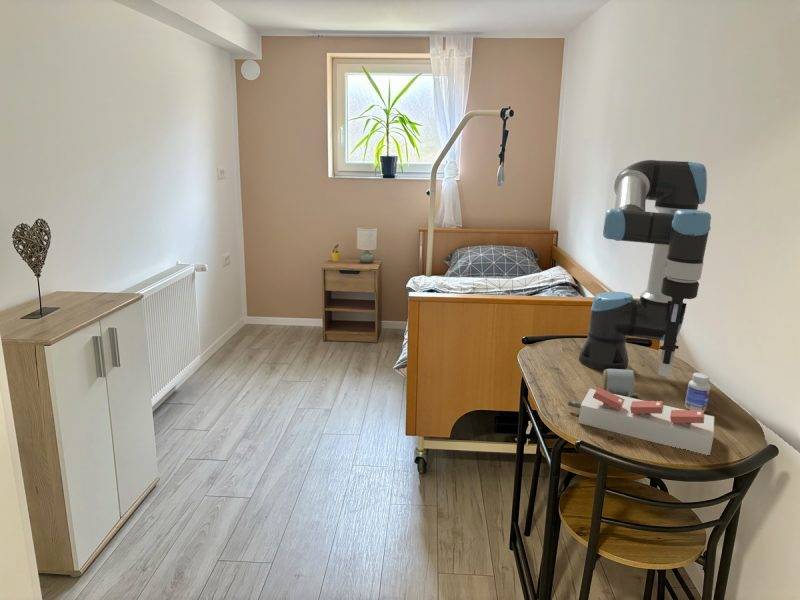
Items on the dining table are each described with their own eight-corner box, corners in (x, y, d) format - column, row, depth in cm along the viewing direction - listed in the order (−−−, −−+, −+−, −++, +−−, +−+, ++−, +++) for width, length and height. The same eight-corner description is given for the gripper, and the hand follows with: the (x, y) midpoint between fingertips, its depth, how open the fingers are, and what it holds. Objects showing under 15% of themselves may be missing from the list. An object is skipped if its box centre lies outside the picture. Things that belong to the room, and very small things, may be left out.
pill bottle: (707, 414, 158) (714, 380, 155) (685, 410, 160) (691, 377, 157) (704, 406, 163) (711, 373, 160) (683, 402, 165) (689, 370, 162)
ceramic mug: (599, 387, 173) (603, 362, 170) (629, 390, 171) (633, 366, 169) (603, 402, 163) (607, 377, 160) (634, 406, 161) (638, 381, 159)
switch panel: (572, 401, 162) (575, 381, 160) (710, 434, 147) (714, 412, 145) (562, 418, 152) (565, 397, 150) (709, 456, 136) (714, 432, 135)
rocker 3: (672, 416, 143) (671, 409, 143) (704, 416, 140) (703, 409, 140) (671, 422, 140) (670, 416, 140) (703, 423, 136) (703, 416, 136)
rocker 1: (595, 391, 151) (598, 386, 150) (622, 404, 148) (624, 399, 148) (592, 397, 148) (595, 391, 147) (619, 410, 145) (622, 405, 144)
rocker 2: (633, 407, 147) (632, 400, 147) (663, 407, 144) (662, 400, 144) (631, 413, 144) (630, 406, 144) (662, 413, 140) (661, 406, 140)
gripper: (665, 271, 141) (650, 363, 147) (661, 281, 130) (644, 380, 136) (700, 275, 138) (682, 369, 144) (698, 287, 127) (679, 388, 133)
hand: (664, 374), depth 140 cm, fingers closed
